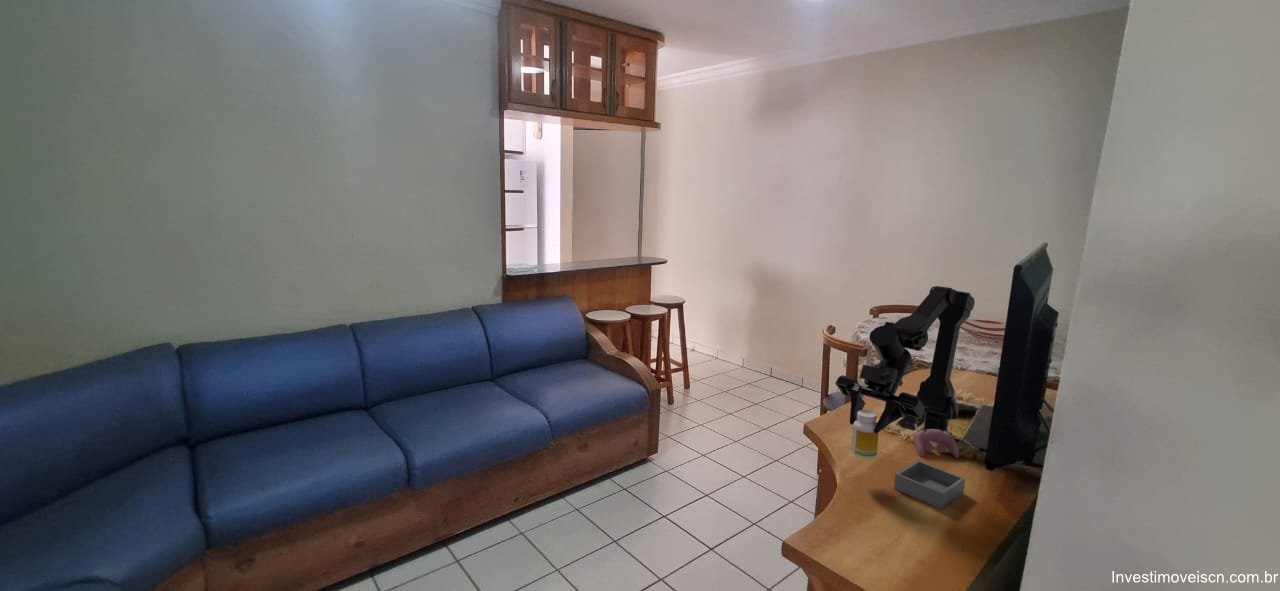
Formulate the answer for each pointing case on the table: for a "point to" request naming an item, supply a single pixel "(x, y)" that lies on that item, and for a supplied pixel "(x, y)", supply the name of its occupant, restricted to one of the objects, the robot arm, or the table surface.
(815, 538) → the table surface
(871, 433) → the supplement bottle
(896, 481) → the trough tray
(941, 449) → the video game controller
